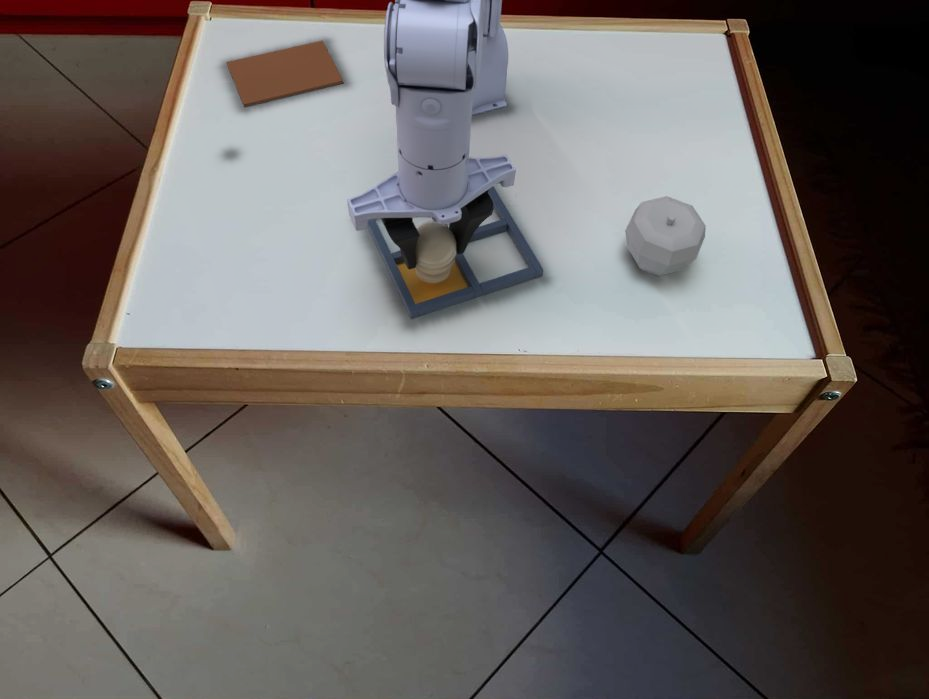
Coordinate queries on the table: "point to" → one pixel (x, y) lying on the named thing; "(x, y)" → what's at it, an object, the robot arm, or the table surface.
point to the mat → (284, 73)
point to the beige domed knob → (434, 252)
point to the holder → (456, 269)
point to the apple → (664, 235)
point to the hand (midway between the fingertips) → (432, 253)
